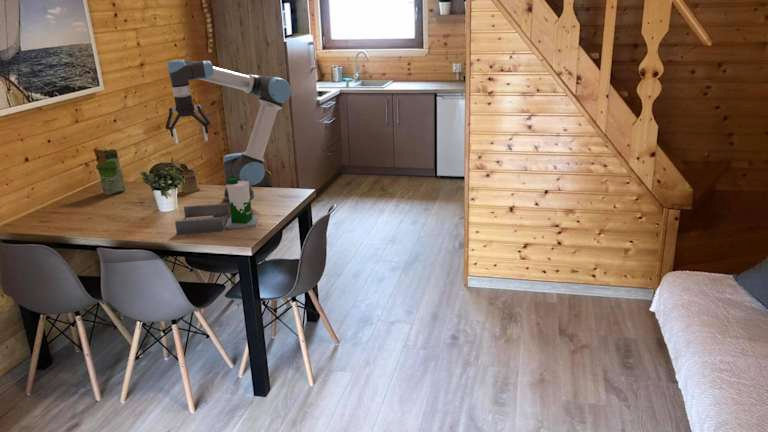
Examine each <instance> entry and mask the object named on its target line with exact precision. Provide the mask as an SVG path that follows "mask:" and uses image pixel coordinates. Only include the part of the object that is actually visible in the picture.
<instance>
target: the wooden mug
mask: <svg viewBox="0 0 768 432" xmlns="http://www.w3.org/2000/svg"><path fill="white" fill-rule="evenodd" d="M170 164H171V165H172V166H173V167H174V168H175V169H176V170H179V171H180V172H181V176H182V175H183V176H184V178H185V183H183V184H182V183H181V185H182V187H181V192H183V194H184V193H185V194H190V193H196V192H199V191H200V186H199V183H198V180H197V177H196V175H197V174H196V172H195V171H194V169H193V168H192V169H185V170H184V169H183V168H182V165H181V163H180V161H178V159H175V158H172V157H171V159H170Z"/></svg>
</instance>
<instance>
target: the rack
mask: <svg viewBox="0 0 768 432" xmlns="http://www.w3.org/2000/svg"><path fill="white" fill-rule="evenodd" d="M228 203H229V202H226V203H214V204H213V203H212V204H211V203H210V204H201V205H200V204H199V205H184V206H183V211H184V212H183V213H184V218H183V219H180V220H175V221H174V224H175V230H176V235H178V236H179V235H191V234H204V233H218V232H224V231H225V228H226V226H227V223H228V220H229V217H230V213H229V211H230V209H229V204H228ZM212 215H213V217H214V218H207V219H193V220H185V219H186V218H190V217H201V216H212Z"/></svg>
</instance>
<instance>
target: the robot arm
mask: <svg viewBox="0 0 768 432" xmlns="http://www.w3.org/2000/svg"><path fill="white" fill-rule="evenodd" d="M167 68H168V70H167V71H168V74H169V79H170V84H171V89H172V93H173V96H174V98H173V99H174V105H175V107H172V106H171V107H169V108H168V113H169V114H168V117H167V120H166V123H165V124H166V125H165V130H169V131H170V136H171V137H172V138H173V140H174V145H177V144H179V138H178V134H177V129H176V128H175V126H176V125H177V124H178V122H179V120H180V118H181V117H183V118H185V117H190V116H191V117H192V118H193V119H195V120H196V121H197V122H199V124H201V125H202V131H203V132H202V133H203V137H204V142H208V141H209V137H208V133H209V127H208V126H210V125H212V121H211V120H210V119H209V117H208V116H207V114H206V113H205V112H204V110H203V109H202V105H201V104H198V105H197V104H196V105H194V102H193V97H192V95H191V94H192V93H191V92H192V91H191V87H190V81H194V80H201V81H204V82H208V83H213V84H216V85H220V86H225V87H228V88H233V89H237V90H241V91H243V92H245V93H246V94H249V95H252V96H255V97H257V98H259V99H258V102H259V104H260V106H259V109H258V112H257V115H256V118H255V122H254V125H253V128H252V131H251V134H250V138H249V140H248V143H247V146H246V150H245V151H243V152H236V153H230V154H226V155H224V156H223V158H222V159H223V160H222V161H223V162H222V164H223V169H224V179H225V183H226V184H225V188H224V194H223V197H224V200H225V201H226V202H229V196H228V191H227V187H226V185H227V184H228V183H229V182H228V179H229V178H234V177H235V178H237V180H238V181H249V192H250V200H252V199H253V198H254V197H255V192H254V189H253V187H252V186H254V185H257V184H259V183H260V182H261V181H263V179H264V177H265V174H266V173H265V167H264V164H265V159H264V154H265V151H266V147H267V145H268V142H269V138H270V135H271V132H272V129H273V127H274V123H275V120H276V116H277V114H278V111H279V110H281V109H282V108H283V107H284V106H283V105H284V103H285V102H286V103H287V102H288V100H290V98H291V95H292V94H291V93H292V89H291V85H290V84H289V82H288V81H287V80H286V79H284V78H281V77H278V76H270V75H258V74H252V73H249V74H244V73H240V72H236V71H233V70H228V69H224V68H220V67H218V66H214V65H213V64H212V62H211V61H210V60H202V61H196V60H189V59H175V60H170V61H169V60H168V62H167ZM195 110H196V111H197V112H198V113H199V114H200V115H198V114H197V113H196V112H195ZM175 111H176V113H177V115H176V117H175V119H174V120H173V122H172V119H173V116H174V113H175ZM200 116H201V117H202V118H201V117H200ZM171 123H172V124H171Z"/></svg>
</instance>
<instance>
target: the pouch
mask: <svg viewBox="0 0 768 432" xmlns="http://www.w3.org/2000/svg"><path fill="white" fill-rule="evenodd" d="M92 151H93V152H94V155H95V157H96V159H95V161H96V162H97V164H96V165H95V167H96V170H97V171H98V174H99V178H100V184H101V187H102V191H103V193H104V195H105V194H111V195H113V194H117V193H121V192H120V191H122V192H126V186H125V181H124V176H123V170H122V168H121V166H120V165H121V161H120V156H119V154H118V150H117V149H113V148H109V149H106V148H103V149H97V148H93V149H92Z"/></svg>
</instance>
